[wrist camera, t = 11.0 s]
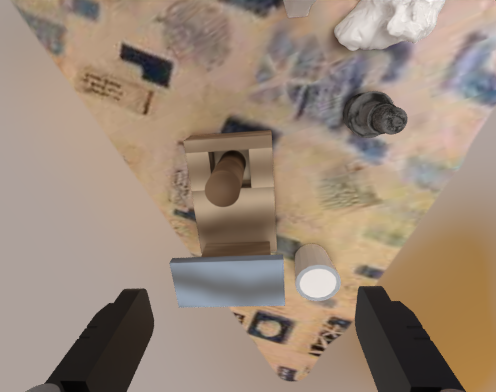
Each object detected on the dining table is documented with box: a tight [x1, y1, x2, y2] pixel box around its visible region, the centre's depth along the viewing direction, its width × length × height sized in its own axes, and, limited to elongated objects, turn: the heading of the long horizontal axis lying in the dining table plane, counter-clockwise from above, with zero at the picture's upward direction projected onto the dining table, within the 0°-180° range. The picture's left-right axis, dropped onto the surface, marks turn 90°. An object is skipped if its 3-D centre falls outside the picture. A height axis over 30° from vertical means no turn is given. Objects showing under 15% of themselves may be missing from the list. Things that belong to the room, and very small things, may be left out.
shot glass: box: [295, 244, 341, 301], centre depth 45 cm, size 7×7×7 cm
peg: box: [205, 150, 246, 207], centre depth 36 cm, size 4×4×12 cm
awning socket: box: [170, 130, 285, 307], centre depth 37 cm, size 18×13×16 cm
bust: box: [334, 0, 445, 51], centre depth 31 cm, size 12×8×11 cm
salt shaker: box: [343, 91, 407, 138], centre depth 33 cm, size 6×6×12 cm
